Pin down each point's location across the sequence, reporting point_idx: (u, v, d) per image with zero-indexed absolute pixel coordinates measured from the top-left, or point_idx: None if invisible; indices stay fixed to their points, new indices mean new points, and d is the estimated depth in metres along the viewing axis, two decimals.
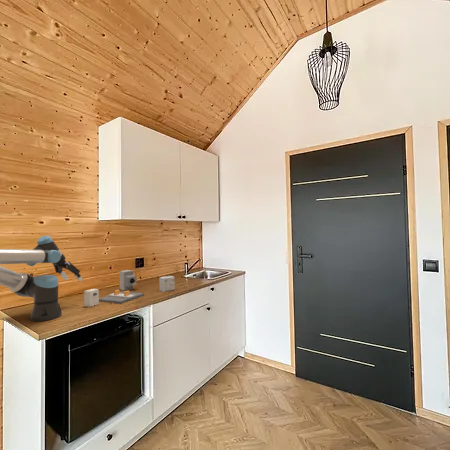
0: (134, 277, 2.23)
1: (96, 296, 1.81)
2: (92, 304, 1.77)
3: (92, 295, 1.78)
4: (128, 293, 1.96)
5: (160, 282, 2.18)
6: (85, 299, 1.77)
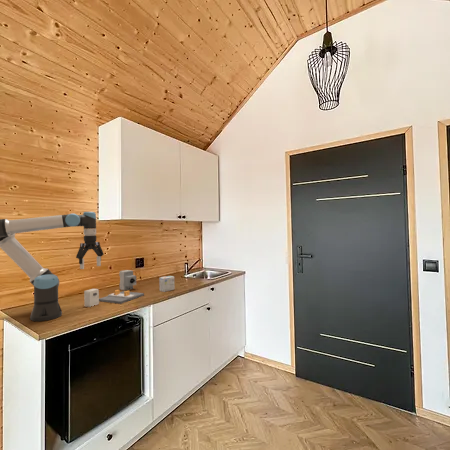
0: (134, 277, 2.23)
1: (96, 296, 1.81)
2: (92, 304, 1.77)
3: (92, 295, 1.78)
4: (128, 293, 1.96)
5: (160, 282, 2.18)
6: (85, 299, 1.77)
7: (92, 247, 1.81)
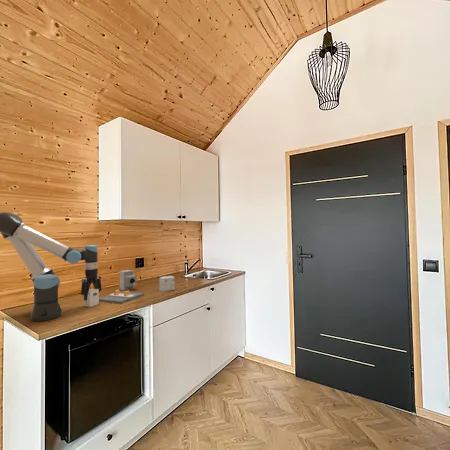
0: (134, 277, 2.23)
1: (96, 296, 1.81)
2: (92, 304, 1.77)
3: (92, 295, 1.78)
4: (128, 293, 1.96)
5: (160, 282, 2.18)
6: None
7: (93, 280, 1.80)
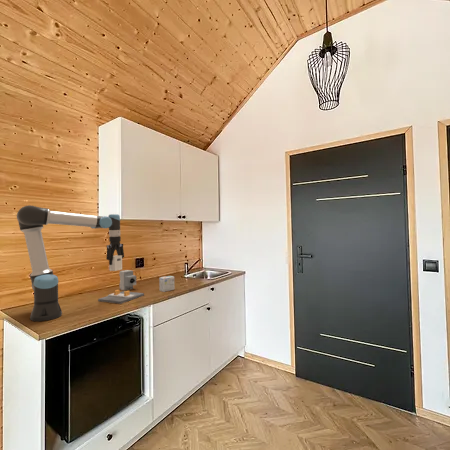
0: (134, 277, 2.24)
1: (120, 261, 1.94)
2: (116, 268, 1.91)
3: (116, 260, 1.91)
4: (128, 293, 1.96)
5: (160, 282, 2.18)
6: None
7: (117, 247, 1.94)
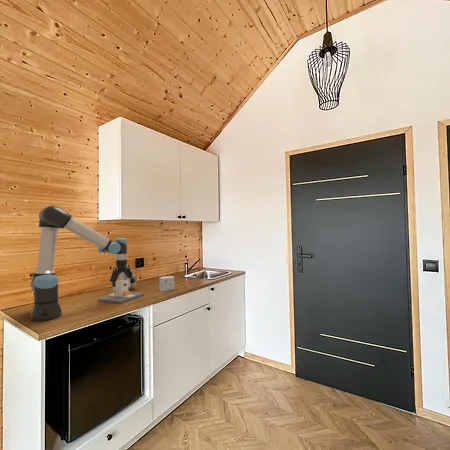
0: (134, 277, 2.23)
1: (126, 286, 1.98)
2: (123, 294, 1.95)
3: (123, 285, 1.95)
4: (128, 293, 1.96)
5: (160, 282, 2.18)
6: None
7: (123, 270, 1.98)
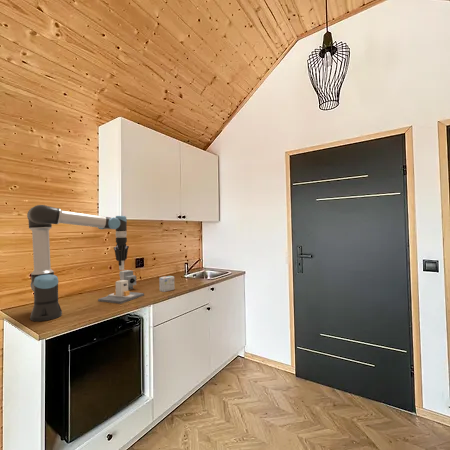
0: (134, 277, 2.23)
1: (126, 286, 1.98)
2: (123, 294, 1.95)
3: (123, 285, 1.95)
4: (128, 293, 1.96)
5: (160, 282, 2.18)
6: (116, 289, 1.95)
7: (123, 248, 1.98)
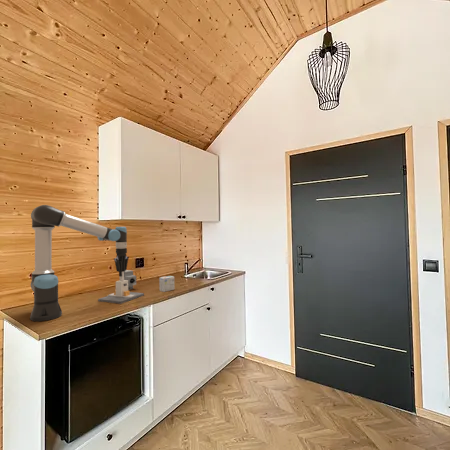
0: (134, 277, 2.23)
1: (126, 286, 1.98)
2: (123, 294, 1.95)
3: (123, 285, 1.95)
4: (128, 293, 1.96)
5: (160, 282, 2.18)
6: (116, 289, 1.95)
7: (123, 259, 1.98)
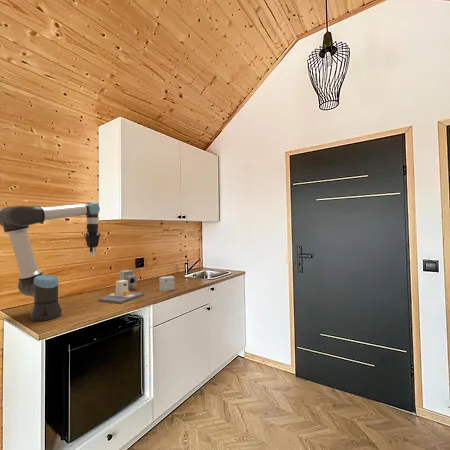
0: (134, 277, 2.23)
1: (126, 286, 1.98)
2: (123, 294, 1.95)
3: (123, 285, 1.95)
4: (128, 293, 1.96)
5: (160, 282, 2.18)
6: (116, 289, 1.95)
7: (94, 234, 1.97)
